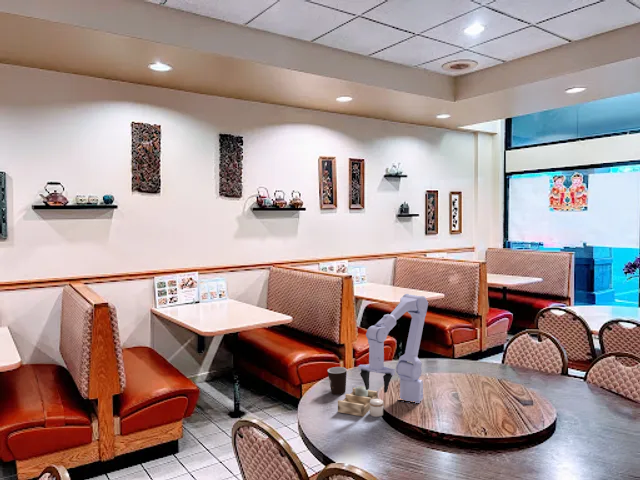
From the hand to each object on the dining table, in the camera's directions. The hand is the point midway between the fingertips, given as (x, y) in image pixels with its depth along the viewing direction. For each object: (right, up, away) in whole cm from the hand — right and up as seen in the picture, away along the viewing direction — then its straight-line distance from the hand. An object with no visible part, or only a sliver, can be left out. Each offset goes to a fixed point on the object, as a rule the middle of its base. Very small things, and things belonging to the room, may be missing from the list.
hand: (376, 390), depth 195 cm
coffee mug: (-14, -9, +27) cm, 32 cm away
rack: (-7, -9, +9) cm, 14 cm away
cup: (0, -10, 0) cm, 10 cm away
